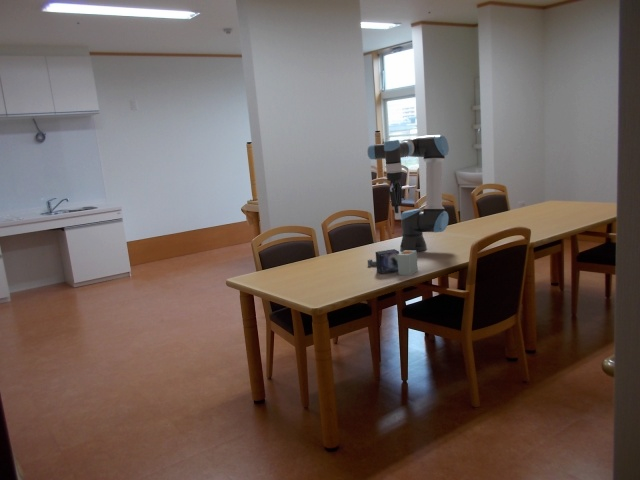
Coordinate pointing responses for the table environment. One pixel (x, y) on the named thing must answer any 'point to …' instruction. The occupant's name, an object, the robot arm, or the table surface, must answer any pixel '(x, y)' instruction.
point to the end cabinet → (407, 263)
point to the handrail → (371, 262)
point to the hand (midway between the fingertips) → (398, 219)
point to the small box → (387, 261)
